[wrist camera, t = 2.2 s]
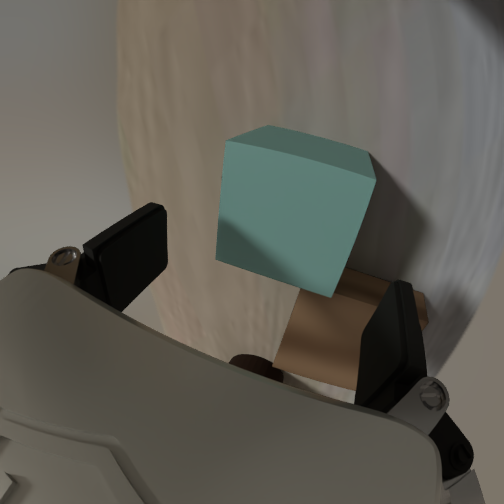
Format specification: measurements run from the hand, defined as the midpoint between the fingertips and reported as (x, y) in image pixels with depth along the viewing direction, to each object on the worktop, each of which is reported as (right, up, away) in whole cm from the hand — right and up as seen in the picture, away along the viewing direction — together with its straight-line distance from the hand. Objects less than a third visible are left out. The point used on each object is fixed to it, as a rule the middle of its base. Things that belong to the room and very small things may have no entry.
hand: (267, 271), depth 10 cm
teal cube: (+3, +5, +6) cm, 8 cm away
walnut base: (+7, -5, +10) cm, 13 cm away
